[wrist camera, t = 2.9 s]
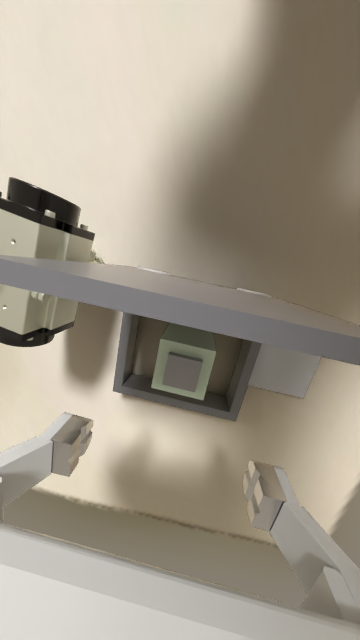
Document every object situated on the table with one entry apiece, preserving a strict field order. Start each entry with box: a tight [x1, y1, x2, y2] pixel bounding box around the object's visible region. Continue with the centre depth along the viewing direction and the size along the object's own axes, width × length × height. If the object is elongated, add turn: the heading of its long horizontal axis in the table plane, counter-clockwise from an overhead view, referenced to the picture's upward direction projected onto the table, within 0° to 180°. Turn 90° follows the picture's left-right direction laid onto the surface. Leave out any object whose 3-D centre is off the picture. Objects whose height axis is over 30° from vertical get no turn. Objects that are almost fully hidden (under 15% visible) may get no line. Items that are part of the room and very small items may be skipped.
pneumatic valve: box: [0, 177, 104, 347], centre depth 17 cm, size 6×12×12 cm, turn 159°
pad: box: [248, 343, 321, 399], centre depth 23 cm, size 9×7×1 cm
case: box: [0, 255, 360, 421], centre depth 16 cm, size 15×15×17 cm
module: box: [151, 323, 217, 400], centre depth 21 cm, size 5×5×8 cm
